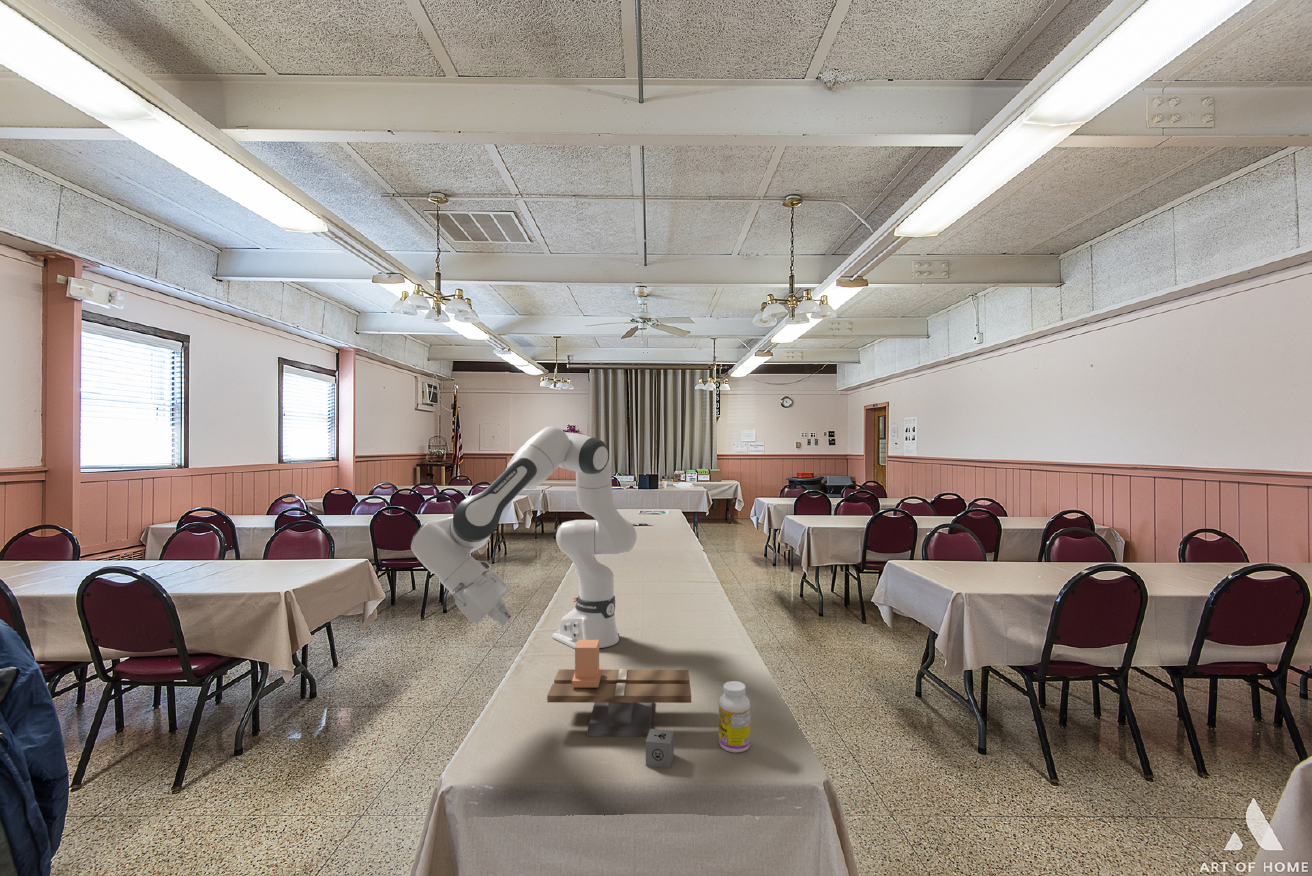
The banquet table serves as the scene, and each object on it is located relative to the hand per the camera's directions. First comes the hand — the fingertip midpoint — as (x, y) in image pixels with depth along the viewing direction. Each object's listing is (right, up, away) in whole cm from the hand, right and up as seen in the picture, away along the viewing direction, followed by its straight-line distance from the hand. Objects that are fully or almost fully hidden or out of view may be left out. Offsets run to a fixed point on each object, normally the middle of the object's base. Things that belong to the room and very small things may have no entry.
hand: (508, 620), depth 133 cm
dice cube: (+36, -23, -17) cm, 46 cm away
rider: (+19, -15, 0) cm, 24 cm away
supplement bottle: (+51, -23, -12) cm, 58 cm away
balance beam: (+27, -23, 0) cm, 35 cm away
